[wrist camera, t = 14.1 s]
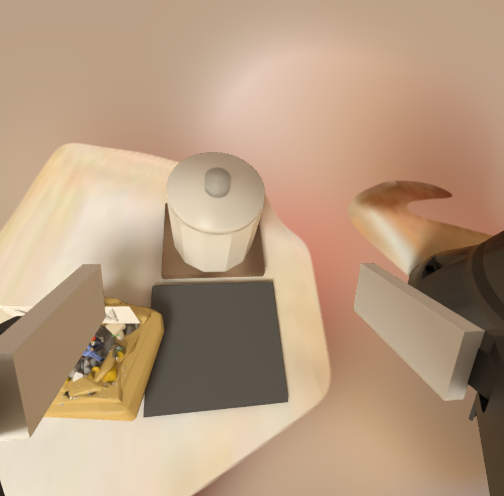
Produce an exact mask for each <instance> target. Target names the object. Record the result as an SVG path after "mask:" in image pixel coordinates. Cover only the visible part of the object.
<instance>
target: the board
mask: <svg viewBox="0 0 504 496" xmlns="http://www.w3.org/2000/svg"><path fill="white" fill-rule="evenodd" d="M264 273H265V271H264V263H263V254H262V246H261V238H260V229H259V223H258V226H257V230H256V233H255V236H254V239H253V242H252V246H251V247H250V249H249V251H248V253H247V255H246V257H245V259H244V260H243V262H241V263H239V264H238V265H236V266H234V267H232V268H231V269H229V270H227V271H224V272H203V271H201V270H199V269H197V268H195V267H193V266H191V265H189V264H187V263H185V262H184V260H183V259H182V257H181V256H180V254H179V253H178V251H177V249H176V248H175V246H174V240H173V234H172V228H171V222H170V216H169V210H168V204H167V203H166V204H165V222H164V240H163V257H162V278H163V279H178V278H215V277H252V276H263V275H264Z"/></svg>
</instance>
